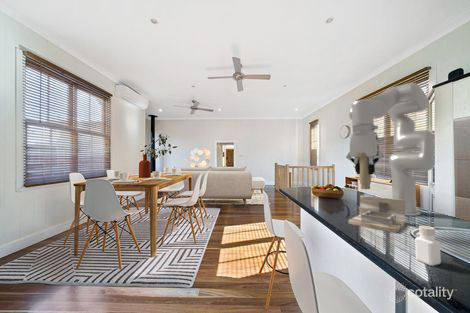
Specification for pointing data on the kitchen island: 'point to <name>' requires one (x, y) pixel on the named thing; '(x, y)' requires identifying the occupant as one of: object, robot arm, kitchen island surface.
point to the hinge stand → (380, 214)
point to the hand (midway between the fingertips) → (365, 173)
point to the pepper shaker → (427, 246)
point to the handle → (364, 171)
